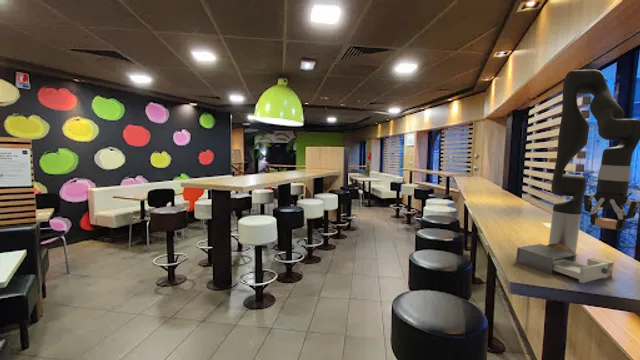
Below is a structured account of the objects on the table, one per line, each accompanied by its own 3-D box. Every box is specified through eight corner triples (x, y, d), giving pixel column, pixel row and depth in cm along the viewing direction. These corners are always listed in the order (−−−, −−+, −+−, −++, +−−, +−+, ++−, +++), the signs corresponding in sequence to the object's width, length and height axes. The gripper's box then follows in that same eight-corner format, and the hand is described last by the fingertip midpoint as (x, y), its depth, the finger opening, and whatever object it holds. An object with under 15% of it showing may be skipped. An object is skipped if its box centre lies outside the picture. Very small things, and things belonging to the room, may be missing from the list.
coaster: (599, 223, 104) (600, 217, 104) (622, 228, 98) (623, 221, 98) (590, 225, 101) (591, 218, 101) (613, 229, 96) (614, 222, 96)
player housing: (538, 257, 116) (540, 243, 116) (574, 269, 105) (576, 254, 105) (515, 261, 111) (517, 247, 110) (551, 274, 100) (553, 258, 99)
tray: (564, 263, 108) (566, 251, 108) (609, 278, 96) (611, 264, 96) (541, 268, 103) (542, 255, 102) (586, 284, 91) (588, 270, 90)
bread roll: (557, 272, 111) (570, 257, 108) (533, 253, 119) (544, 238, 116) (572, 268, 115) (585, 254, 112) (547, 250, 123) (559, 236, 119)
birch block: (593, 270, 105) (595, 257, 104) (611, 276, 100) (613, 262, 100) (586, 272, 103) (587, 258, 102) (604, 278, 98) (606, 264, 98)
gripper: (648, 181, 93) (640, 232, 95) (592, 176, 106) (586, 221, 108) (637, 181, 90) (629, 234, 92) (581, 176, 103) (574, 222, 105)
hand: (606, 227), depth 100 cm, fingers closed on coaster, 6 cm apart
